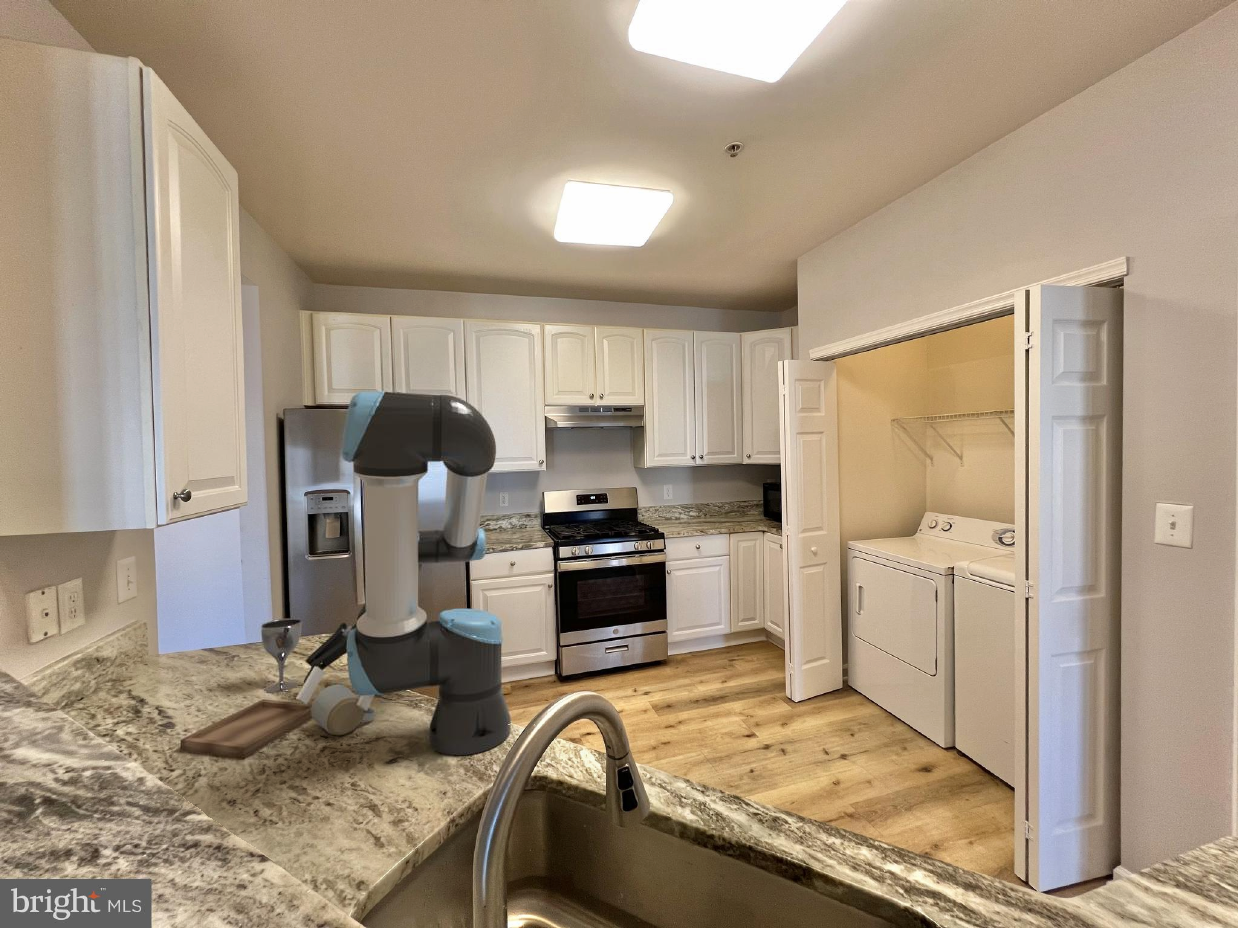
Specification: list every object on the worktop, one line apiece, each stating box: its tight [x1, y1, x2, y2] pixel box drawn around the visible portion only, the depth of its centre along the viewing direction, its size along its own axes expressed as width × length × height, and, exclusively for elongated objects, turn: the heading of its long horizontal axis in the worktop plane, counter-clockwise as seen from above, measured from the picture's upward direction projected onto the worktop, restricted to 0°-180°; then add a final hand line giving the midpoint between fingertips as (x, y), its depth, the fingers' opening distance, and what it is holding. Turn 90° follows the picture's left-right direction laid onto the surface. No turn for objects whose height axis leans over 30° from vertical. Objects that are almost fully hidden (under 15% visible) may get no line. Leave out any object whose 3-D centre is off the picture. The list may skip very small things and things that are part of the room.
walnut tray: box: [180, 699, 314, 760], centre depth 99 cm, size 14×17×2 cm
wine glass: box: [260, 617, 302, 694], centre depth 121 cm, size 8×8×15 cm
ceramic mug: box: [311, 684, 377, 736], centre depth 102 cm, size 11×8×8 cm
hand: (330, 704), depth 99 cm, fingers open, 13 cm apart
